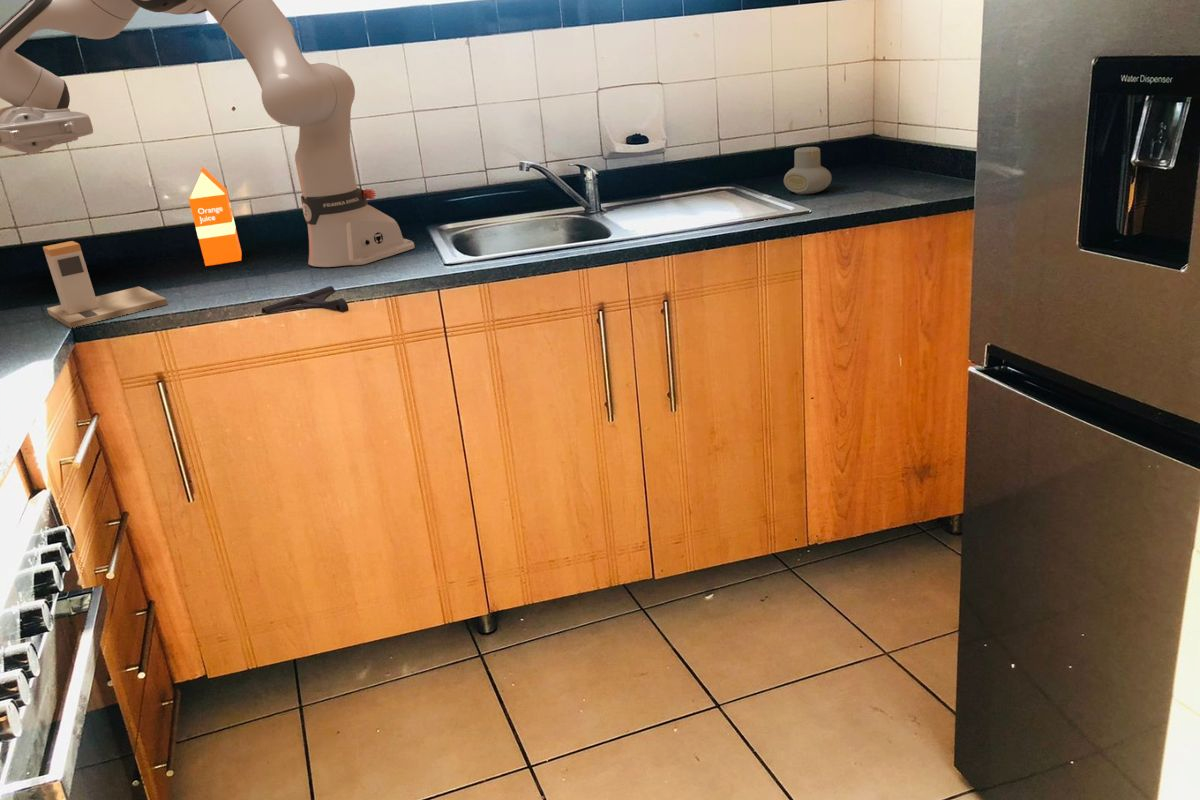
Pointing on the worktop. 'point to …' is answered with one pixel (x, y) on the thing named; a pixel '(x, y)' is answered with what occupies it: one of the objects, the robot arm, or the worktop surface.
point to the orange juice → (214, 221)
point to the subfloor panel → (111, 306)
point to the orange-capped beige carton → (70, 277)
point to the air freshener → (807, 172)
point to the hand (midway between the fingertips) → (43, 132)
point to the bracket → (309, 302)
